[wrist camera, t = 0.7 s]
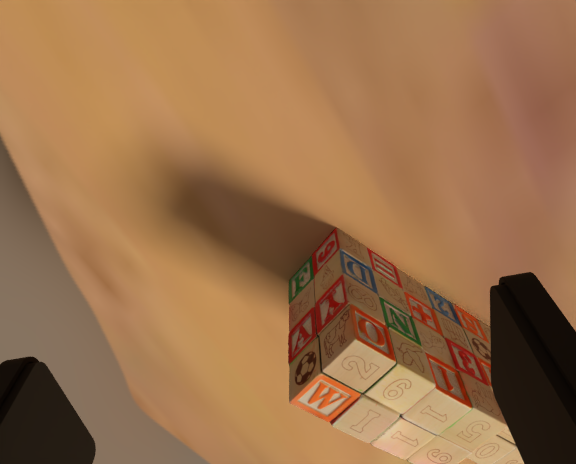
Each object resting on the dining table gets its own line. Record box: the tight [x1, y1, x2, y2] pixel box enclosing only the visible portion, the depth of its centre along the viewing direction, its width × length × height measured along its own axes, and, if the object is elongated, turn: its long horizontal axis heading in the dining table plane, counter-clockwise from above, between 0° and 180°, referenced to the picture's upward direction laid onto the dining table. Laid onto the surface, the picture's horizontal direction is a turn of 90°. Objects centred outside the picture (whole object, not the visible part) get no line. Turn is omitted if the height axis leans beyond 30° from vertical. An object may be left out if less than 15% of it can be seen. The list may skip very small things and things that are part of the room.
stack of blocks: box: [288, 228, 524, 464], centre depth 37 cm, size 21×6×12 cm, turn 54°
